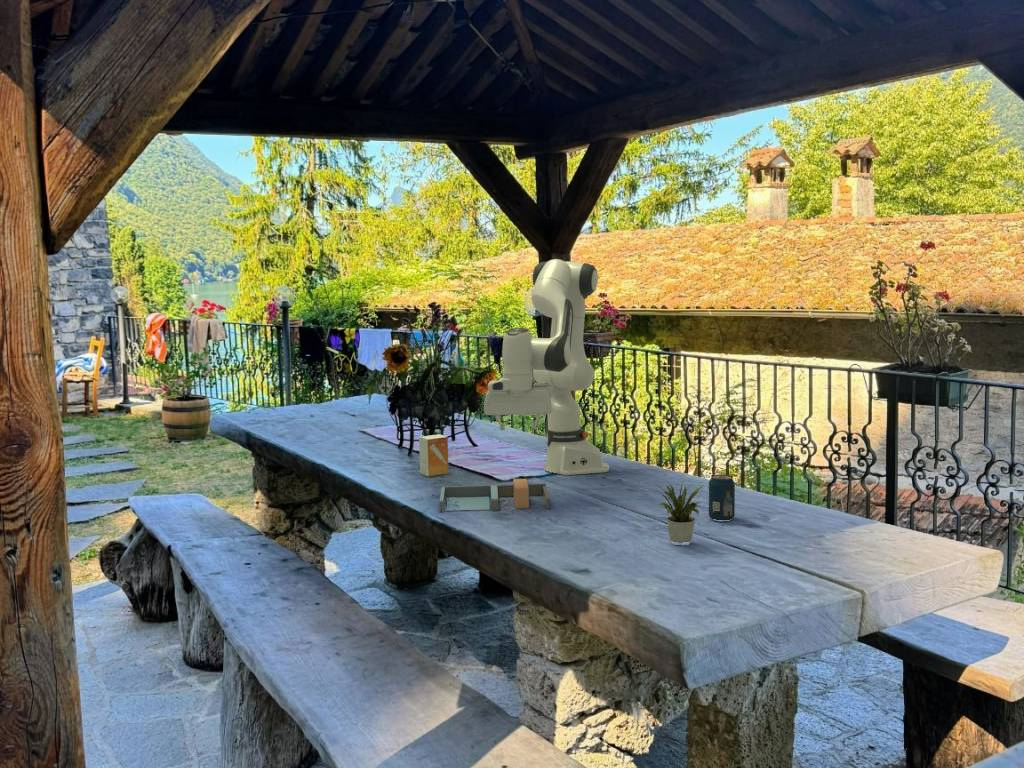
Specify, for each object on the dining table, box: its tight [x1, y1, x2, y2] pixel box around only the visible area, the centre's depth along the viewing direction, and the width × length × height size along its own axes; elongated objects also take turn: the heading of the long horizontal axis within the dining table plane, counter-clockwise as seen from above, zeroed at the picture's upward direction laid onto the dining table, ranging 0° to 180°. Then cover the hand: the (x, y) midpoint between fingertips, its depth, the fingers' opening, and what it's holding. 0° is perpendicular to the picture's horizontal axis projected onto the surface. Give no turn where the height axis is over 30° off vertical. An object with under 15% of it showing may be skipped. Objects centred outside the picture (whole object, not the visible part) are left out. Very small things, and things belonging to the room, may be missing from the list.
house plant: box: [649, 479, 705, 543], centre depth 233 cm, size 14×14×16 cm
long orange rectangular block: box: [512, 478, 530, 509], centre depth 277 cm, size 4×12×6 cm, turn 2°
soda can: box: [708, 474, 736, 520], centre depth 253 cm, size 7×7×12 cm
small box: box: [418, 433, 450, 477], centre depth 318 cm, size 8×6×13 cm
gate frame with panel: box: [439, 483, 551, 512], centre depth 277 cm, size 32×17×4 cm, turn 92°
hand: (518, 429), depth 275 cm, fingers open, 8 cm apart
